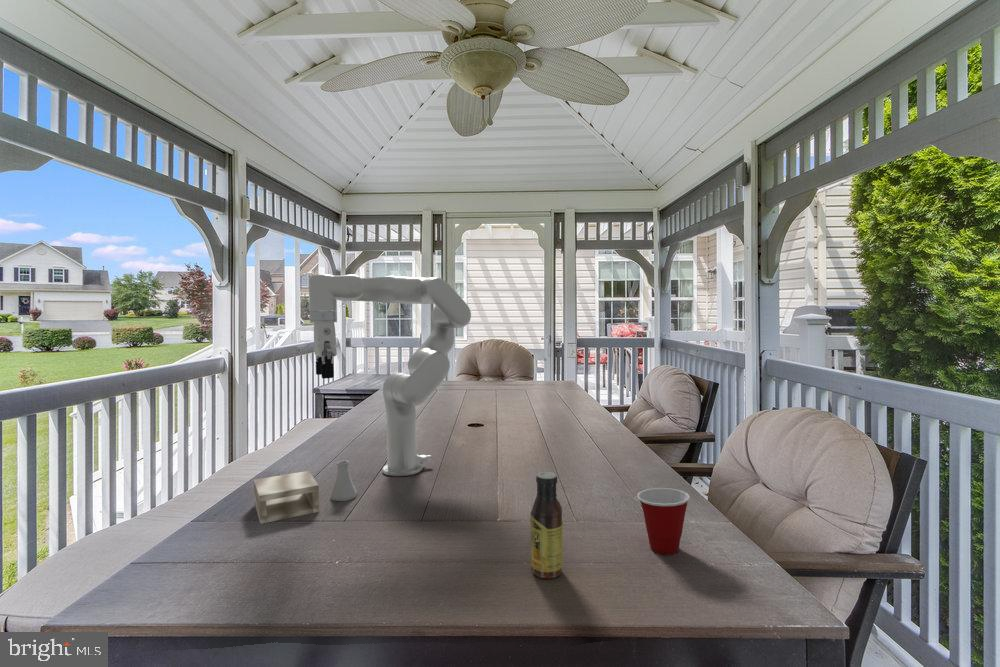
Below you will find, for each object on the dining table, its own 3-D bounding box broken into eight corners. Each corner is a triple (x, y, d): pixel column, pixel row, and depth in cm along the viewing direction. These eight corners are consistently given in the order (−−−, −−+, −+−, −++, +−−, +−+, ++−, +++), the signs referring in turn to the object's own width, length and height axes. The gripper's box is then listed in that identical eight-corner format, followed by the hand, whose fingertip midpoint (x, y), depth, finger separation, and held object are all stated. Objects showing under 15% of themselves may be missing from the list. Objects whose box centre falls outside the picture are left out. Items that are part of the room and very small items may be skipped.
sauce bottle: (528, 565, 105) (527, 469, 104) (559, 563, 106) (558, 467, 105) (533, 582, 99) (532, 480, 98) (566, 580, 99) (565, 478, 98)
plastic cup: (649, 533, 119) (649, 481, 118) (697, 546, 112) (697, 491, 112) (628, 550, 111) (628, 495, 110) (678, 566, 104) (678, 507, 103)
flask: (349, 503, 141) (348, 466, 140) (325, 501, 142) (324, 465, 141) (362, 493, 148) (360, 458, 147) (338, 492, 149) (337, 457, 148)
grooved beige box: (309, 495, 147) (308, 470, 146) (319, 511, 135) (318, 485, 134) (254, 505, 140) (253, 479, 139) (260, 523, 128) (259, 495, 127)
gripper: (342, 317, 144) (344, 378, 145) (331, 317, 160) (332, 372, 160) (314, 318, 141) (315, 380, 142) (305, 317, 156) (306, 373, 157)
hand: (324, 376), depth 151 cm, fingers open, 9 cm apart
